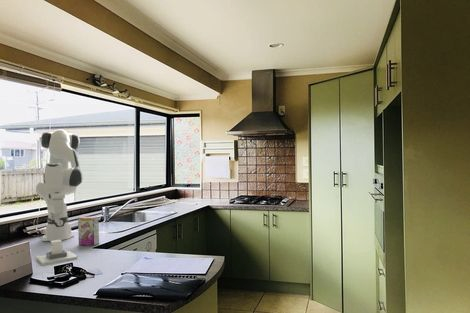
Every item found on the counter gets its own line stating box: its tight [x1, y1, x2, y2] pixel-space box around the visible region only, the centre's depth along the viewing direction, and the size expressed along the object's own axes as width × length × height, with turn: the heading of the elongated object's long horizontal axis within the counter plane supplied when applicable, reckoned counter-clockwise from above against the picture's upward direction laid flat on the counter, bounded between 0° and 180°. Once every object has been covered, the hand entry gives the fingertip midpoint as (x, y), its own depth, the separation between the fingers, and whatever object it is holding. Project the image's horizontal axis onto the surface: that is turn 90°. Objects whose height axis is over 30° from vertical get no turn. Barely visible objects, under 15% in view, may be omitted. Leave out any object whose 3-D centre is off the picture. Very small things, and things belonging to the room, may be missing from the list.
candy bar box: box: [77, 216, 100, 246], centre depth 212 cm, size 11×5×16 cm, turn 74°
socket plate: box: [35, 249, 78, 266], centre depth 182 cm, size 16×16×3 cm
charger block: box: [50, 240, 63, 255], centre depth 182 cm, size 4×5×8 cm
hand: (55, 220), depth 182 cm, fingers open, 8 cm apart
